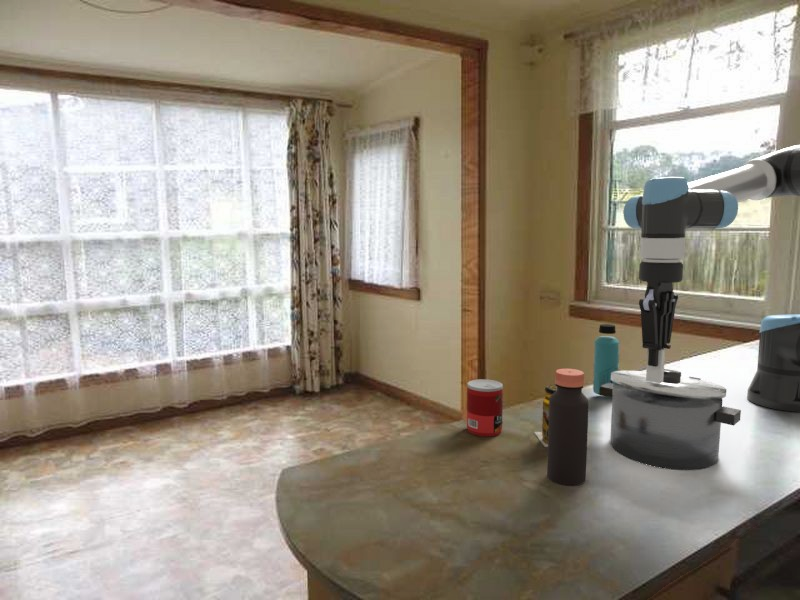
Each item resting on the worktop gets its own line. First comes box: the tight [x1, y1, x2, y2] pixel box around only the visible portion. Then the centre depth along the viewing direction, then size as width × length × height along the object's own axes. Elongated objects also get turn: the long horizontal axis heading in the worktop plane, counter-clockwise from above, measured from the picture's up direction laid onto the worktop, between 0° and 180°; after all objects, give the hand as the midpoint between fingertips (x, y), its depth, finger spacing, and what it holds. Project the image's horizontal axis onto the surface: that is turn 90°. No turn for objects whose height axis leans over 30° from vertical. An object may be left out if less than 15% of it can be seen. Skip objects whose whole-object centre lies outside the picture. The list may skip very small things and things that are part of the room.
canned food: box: [466, 378, 504, 438], centre depth 121 cm, size 8×8×11 cm
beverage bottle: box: [592, 323, 620, 395], centre depth 143 cm, size 6×7×20 cm
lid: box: [611, 368, 727, 399], centre depth 109 cm, size 22×21×3 cm
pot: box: [598, 383, 742, 471], centre depth 111 cm, size 22×26×12 cm
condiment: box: [533, 383, 557, 448], centre depth 116 cm, size 7×8×12 cm
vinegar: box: [546, 368, 590, 487], centre depth 97 cm, size 7×7×20 cm
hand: (654, 381), depth 105 cm, fingers closed
